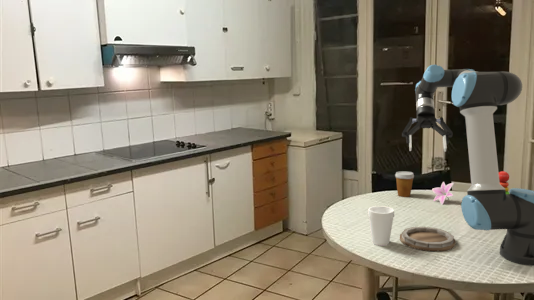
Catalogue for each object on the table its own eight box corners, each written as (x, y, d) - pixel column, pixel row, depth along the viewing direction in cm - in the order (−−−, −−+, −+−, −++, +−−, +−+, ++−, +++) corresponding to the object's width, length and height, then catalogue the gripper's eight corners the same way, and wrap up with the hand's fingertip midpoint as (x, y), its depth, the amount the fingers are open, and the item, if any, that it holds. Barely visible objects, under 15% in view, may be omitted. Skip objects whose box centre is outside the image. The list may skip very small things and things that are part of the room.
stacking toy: (512, 215, 192) (515, 173, 189) (493, 214, 194) (496, 173, 191) (506, 209, 200) (509, 169, 197) (488, 209, 202) (490, 169, 198)
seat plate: (467, 244, 161) (468, 238, 160) (429, 255, 152) (429, 249, 151) (425, 228, 178) (425, 222, 178) (388, 237, 169) (388, 231, 169)
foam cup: (388, 249, 158) (389, 214, 156) (364, 244, 163) (364, 211, 161) (396, 240, 166) (397, 207, 164) (372, 236, 171) (373, 204, 169)
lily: (431, 199, 223) (426, 184, 219) (454, 191, 221) (449, 176, 217) (439, 213, 212) (433, 198, 208) (463, 204, 210) (458, 189, 206)
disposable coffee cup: (416, 195, 228) (417, 172, 226) (408, 199, 221) (409, 176, 219) (399, 192, 234) (400, 170, 232) (391, 195, 227) (391, 173, 225)
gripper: (454, 115, 192) (458, 155, 180) (395, 115, 198) (396, 154, 186) (457, 104, 186) (461, 144, 174) (396, 105, 192) (396, 143, 180)
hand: (427, 149), depth 180 cm, fingers open, 13 cm apart
